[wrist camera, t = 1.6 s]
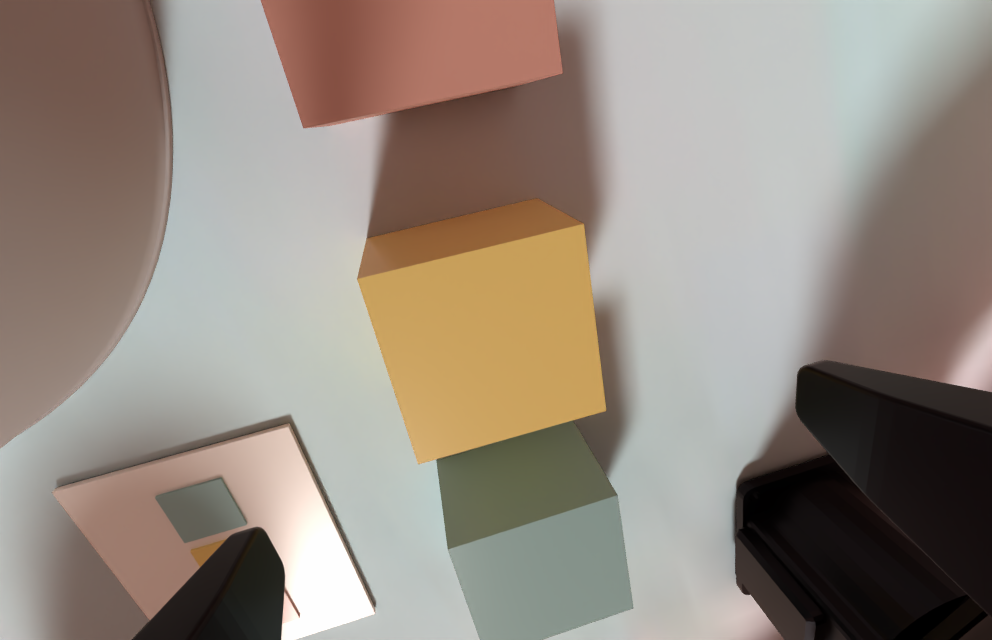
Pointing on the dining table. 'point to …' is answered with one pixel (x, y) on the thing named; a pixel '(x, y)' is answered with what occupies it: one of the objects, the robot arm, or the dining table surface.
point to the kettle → (76, 191)
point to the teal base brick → (534, 535)
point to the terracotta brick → (407, 52)
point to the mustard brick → (485, 325)
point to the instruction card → (222, 525)
